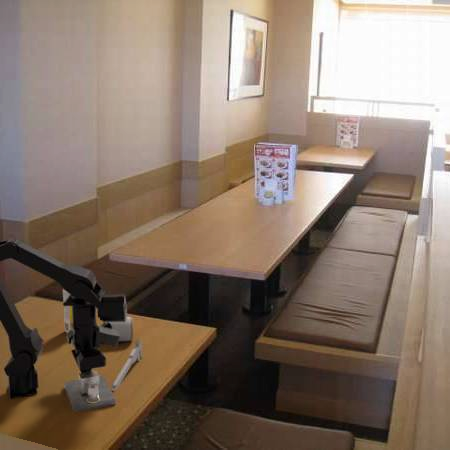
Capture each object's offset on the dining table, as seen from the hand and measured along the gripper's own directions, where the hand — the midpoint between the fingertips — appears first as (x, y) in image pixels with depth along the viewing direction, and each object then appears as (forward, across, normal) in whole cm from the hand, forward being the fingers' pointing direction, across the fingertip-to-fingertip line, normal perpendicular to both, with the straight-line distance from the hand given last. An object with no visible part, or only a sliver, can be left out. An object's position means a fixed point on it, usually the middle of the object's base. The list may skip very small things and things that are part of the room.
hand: (86, 379), depth 161 cm
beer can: (+3, +39, -4) cm, 39 cm away
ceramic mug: (+3, +29, -15) cm, 33 cm away
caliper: (+4, +6, -12) cm, 13 cm away
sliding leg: (+1, -3, 0) cm, 3 cm away
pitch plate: (+3, -3, 0) cm, 4 cm away
